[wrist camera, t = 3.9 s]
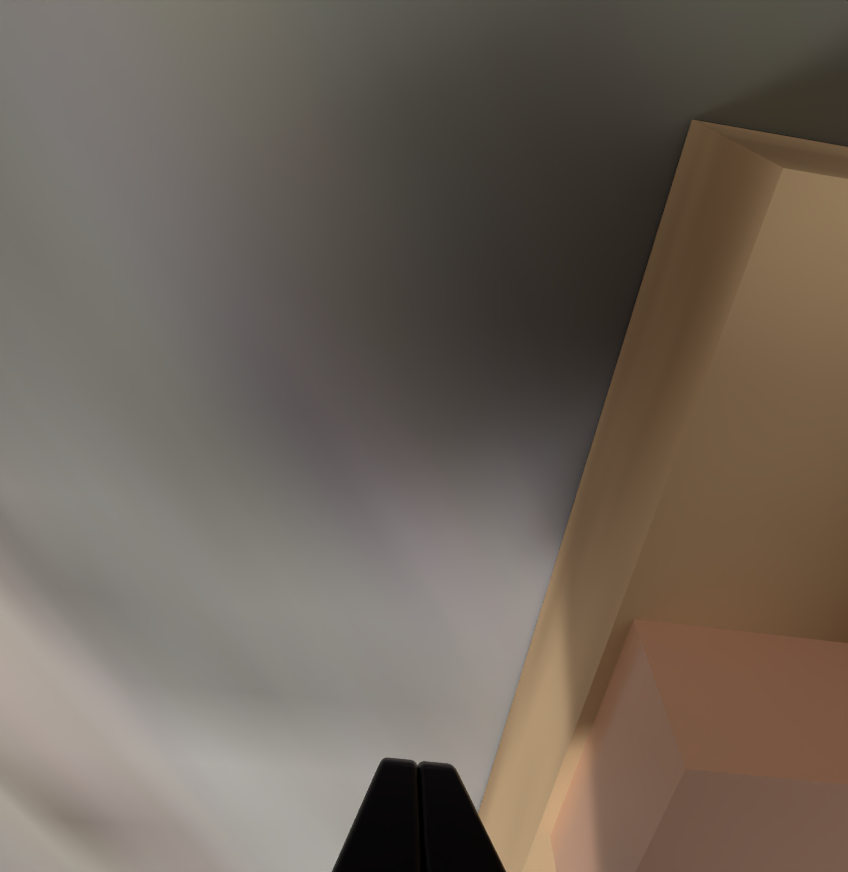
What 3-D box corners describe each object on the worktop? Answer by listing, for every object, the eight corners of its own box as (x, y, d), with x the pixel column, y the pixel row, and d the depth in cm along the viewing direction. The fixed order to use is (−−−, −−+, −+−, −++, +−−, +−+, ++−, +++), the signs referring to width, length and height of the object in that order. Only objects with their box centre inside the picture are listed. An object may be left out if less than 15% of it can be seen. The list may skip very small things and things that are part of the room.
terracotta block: (958, 656, 10) (1079, 806, 8) (823, 859, 12) (895, 1015, 10) (633, 618, 9) (686, 768, 8) (549, 835, 11) (576, 994, 9)
